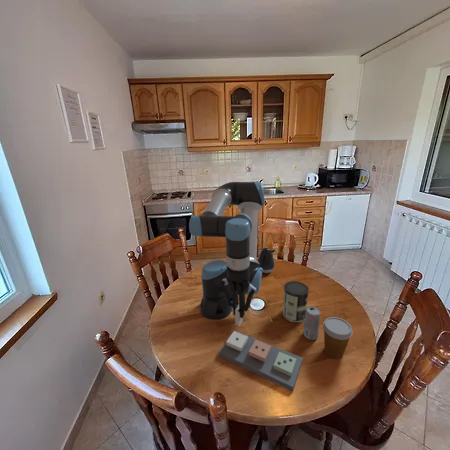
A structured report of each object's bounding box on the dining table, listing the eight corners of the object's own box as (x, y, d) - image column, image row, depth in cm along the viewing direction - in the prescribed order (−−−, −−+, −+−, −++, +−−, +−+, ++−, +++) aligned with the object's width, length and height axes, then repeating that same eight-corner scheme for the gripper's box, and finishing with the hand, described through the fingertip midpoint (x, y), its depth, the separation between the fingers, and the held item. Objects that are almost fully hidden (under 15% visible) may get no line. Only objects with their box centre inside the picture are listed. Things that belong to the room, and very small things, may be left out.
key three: (273, 372, 80) (273, 364, 79) (278, 358, 85) (279, 351, 83) (290, 380, 77) (291, 372, 76) (295, 366, 82) (296, 358, 80)
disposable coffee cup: (324, 337, 94) (328, 312, 90) (351, 349, 88) (356, 323, 84) (316, 353, 87) (319, 327, 83) (344, 367, 81) (349, 340, 77)
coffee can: (304, 308, 110) (307, 282, 106) (307, 324, 101) (310, 296, 96) (282, 305, 112) (283, 280, 108) (282, 321, 103) (284, 293, 98)
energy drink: (314, 330, 97) (317, 305, 94) (320, 340, 92) (323, 314, 88) (301, 330, 97) (304, 306, 93) (306, 340, 92) (309, 315, 88)
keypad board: (219, 356, 87) (218, 352, 86) (234, 334, 97) (234, 330, 96) (292, 391, 74) (293, 387, 73) (302, 362, 84) (302, 357, 83)
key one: (226, 348, 88) (226, 341, 87) (234, 337, 93) (234, 330, 92) (241, 355, 85) (241, 347, 84) (248, 343, 90) (248, 336, 89)
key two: (248, 358, 84) (248, 351, 83) (255, 346, 89) (255, 339, 87) (264, 365, 81) (265, 358, 80) (270, 353, 86) (271, 345, 85)
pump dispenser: (274, 276, 137) (275, 252, 132) (256, 274, 139) (256, 251, 134) (274, 267, 146) (275, 245, 141) (257, 266, 149) (258, 243, 144)
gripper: (215, 266, 78) (218, 323, 86) (252, 276, 72) (251, 336, 80) (226, 256, 84) (228, 311, 92) (261, 264, 78) (259, 322, 86)
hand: (239, 322), depth 86 cm, fingers closed
